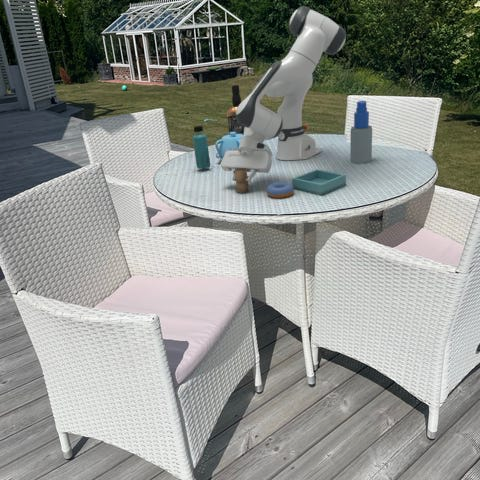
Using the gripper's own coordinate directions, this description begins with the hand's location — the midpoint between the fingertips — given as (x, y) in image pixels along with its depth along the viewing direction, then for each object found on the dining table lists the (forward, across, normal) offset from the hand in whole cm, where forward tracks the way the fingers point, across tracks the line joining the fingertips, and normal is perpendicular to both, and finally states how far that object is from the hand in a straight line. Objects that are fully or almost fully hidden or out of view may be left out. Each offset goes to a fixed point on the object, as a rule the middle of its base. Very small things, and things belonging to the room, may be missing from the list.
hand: (240, 180), depth 170 cm
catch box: (-5, +27, +11) cm, 30 cm away
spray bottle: (-31, +33, +38) cm, 59 cm away
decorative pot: (-26, -25, +33) cm, 49 cm away
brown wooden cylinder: (+3, 0, +4) cm, 4 cm away
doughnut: (+3, +16, +4) cm, 17 cm away
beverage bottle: (-14, -32, +21) cm, 41 cm away
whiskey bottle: (-43, -34, +49) cm, 74 cm away
